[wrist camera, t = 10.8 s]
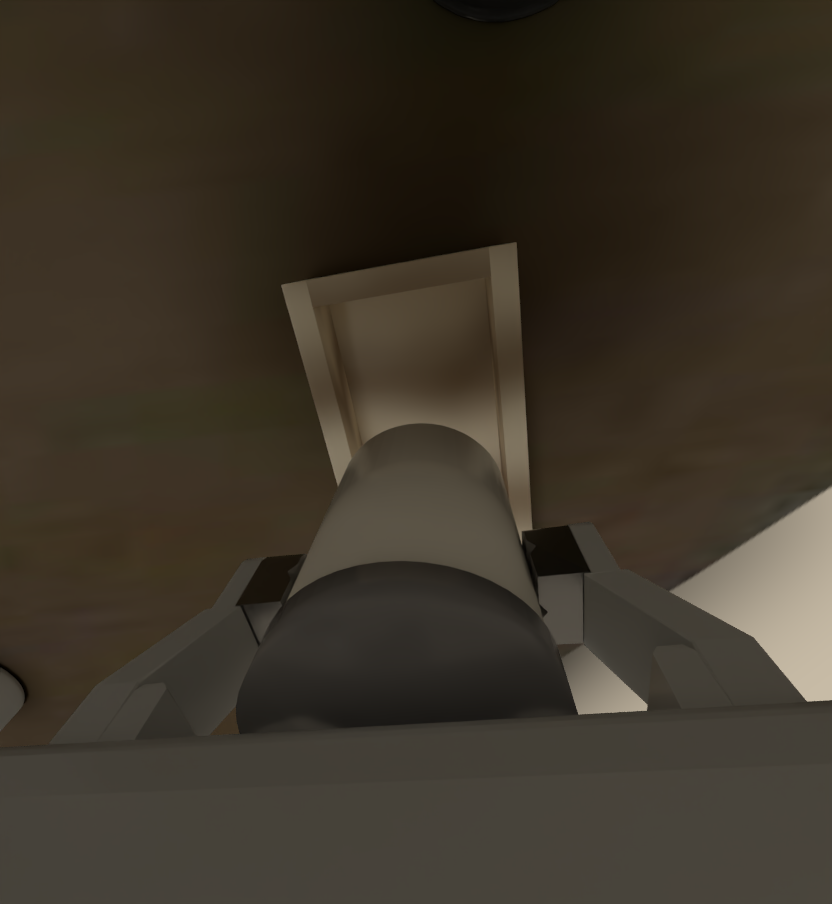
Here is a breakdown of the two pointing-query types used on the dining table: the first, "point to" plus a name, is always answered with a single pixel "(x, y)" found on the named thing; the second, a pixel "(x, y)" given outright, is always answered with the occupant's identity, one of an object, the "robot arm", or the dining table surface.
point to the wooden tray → (420, 355)
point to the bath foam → (9, 697)
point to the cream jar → (409, 601)
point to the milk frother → (495, 8)
